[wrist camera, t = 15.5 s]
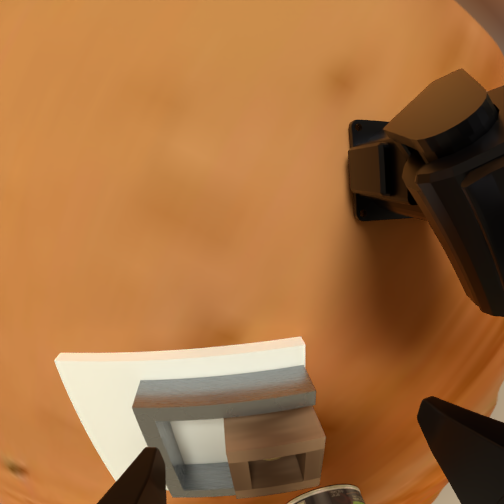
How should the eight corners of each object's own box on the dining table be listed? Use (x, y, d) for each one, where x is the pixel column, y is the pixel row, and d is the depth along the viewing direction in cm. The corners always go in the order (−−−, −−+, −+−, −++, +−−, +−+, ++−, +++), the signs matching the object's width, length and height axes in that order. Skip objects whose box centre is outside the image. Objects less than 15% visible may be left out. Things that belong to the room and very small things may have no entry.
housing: (303, 364, 20) (315, 390, 17) (301, 459, 23) (309, 484, 20) (140, 380, 19) (131, 407, 16) (174, 472, 22) (172, 497, 19)
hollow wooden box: (305, 390, 21) (325, 436, 16) (303, 441, 22) (319, 485, 17) (222, 401, 20) (225, 452, 15) (231, 452, 22) (236, 498, 17)
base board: (300, 336, 21) (318, 369, 17) (298, 469, 25) (308, 501, 21) (60, 352, 19) (37, 382, 15) (121, 478, 23) (115, 509, 19)
